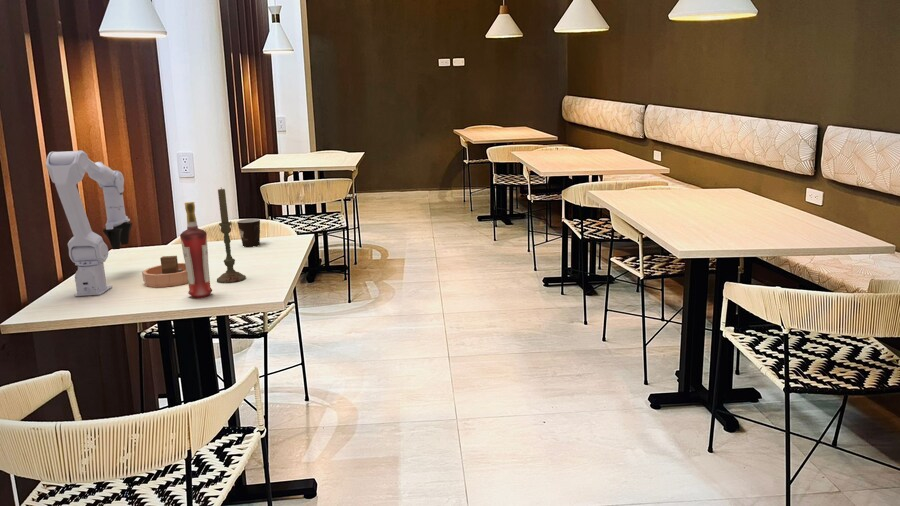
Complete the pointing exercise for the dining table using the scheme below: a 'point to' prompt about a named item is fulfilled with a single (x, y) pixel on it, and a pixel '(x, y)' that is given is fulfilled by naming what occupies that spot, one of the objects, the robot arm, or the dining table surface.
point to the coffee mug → (249, 232)
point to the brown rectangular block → (169, 264)
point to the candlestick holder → (227, 243)
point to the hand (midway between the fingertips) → (120, 246)
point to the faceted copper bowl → (165, 277)
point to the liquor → (195, 255)
